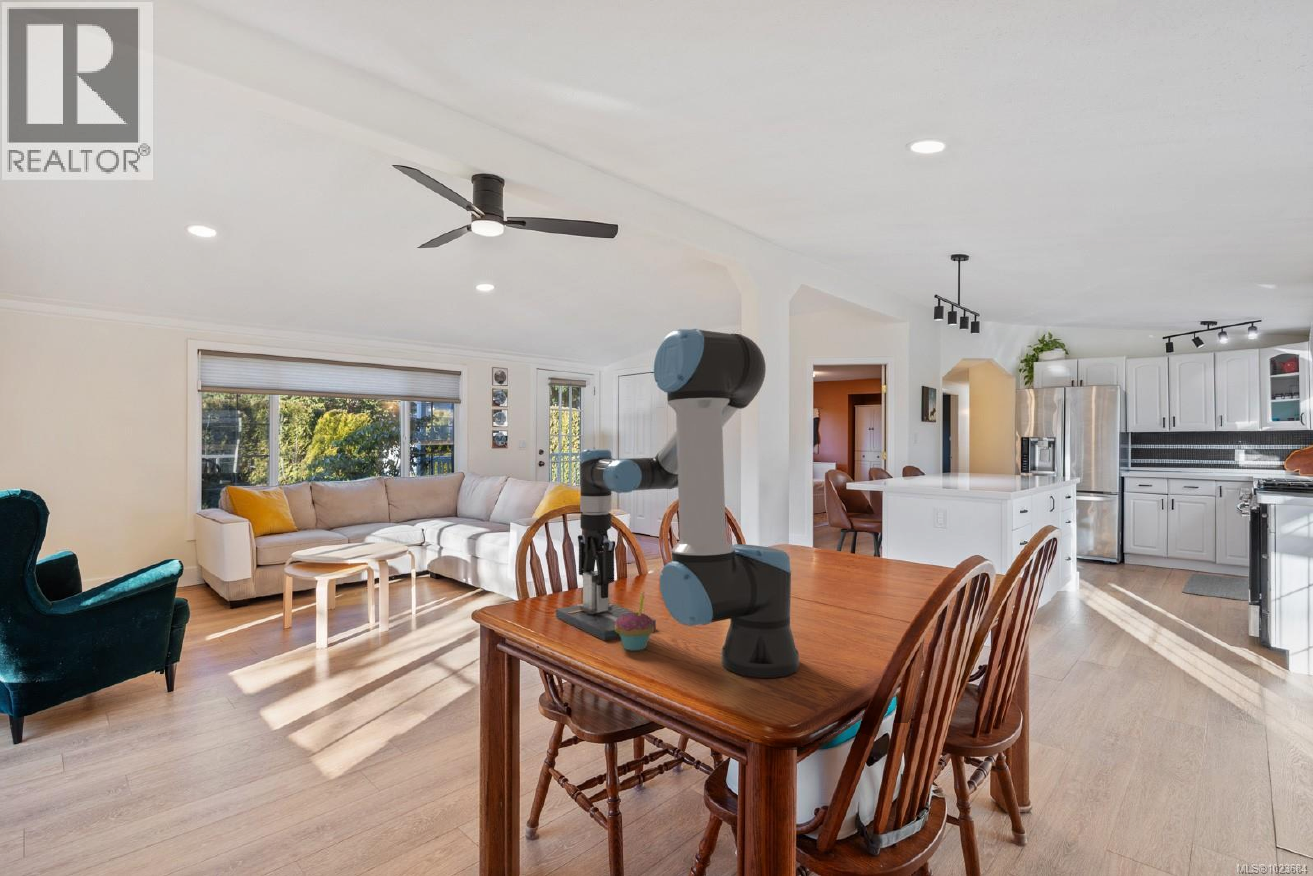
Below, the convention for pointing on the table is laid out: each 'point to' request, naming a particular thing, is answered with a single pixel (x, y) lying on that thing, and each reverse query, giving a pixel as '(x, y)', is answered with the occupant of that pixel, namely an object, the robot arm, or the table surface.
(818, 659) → the table surface
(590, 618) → the board
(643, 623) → the cupcake
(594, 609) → the block
